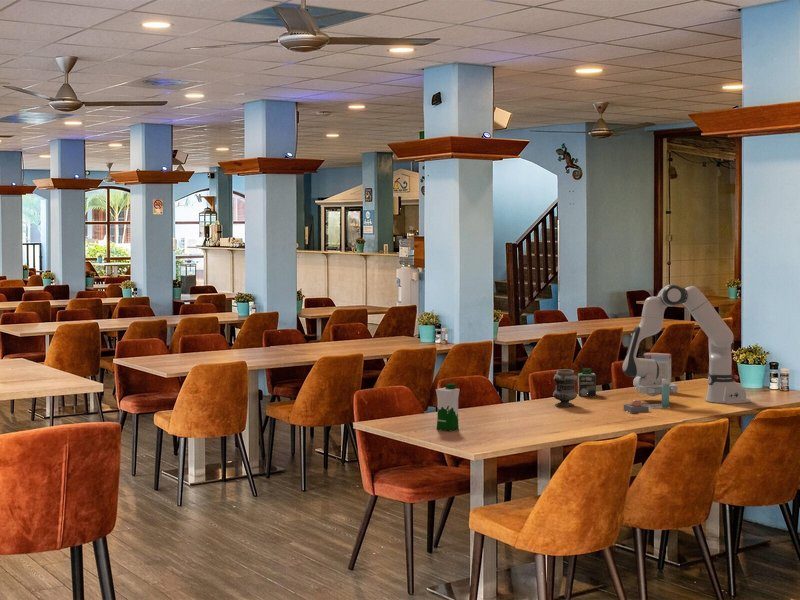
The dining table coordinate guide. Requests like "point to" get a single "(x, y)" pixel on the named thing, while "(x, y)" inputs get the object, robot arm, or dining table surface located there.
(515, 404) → the dining table surface
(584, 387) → the chalk box
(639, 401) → the button
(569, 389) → the apothecary jar
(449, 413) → the milk carton
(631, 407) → the button housing
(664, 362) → the cracker box
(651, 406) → the picture board
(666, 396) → the marker
